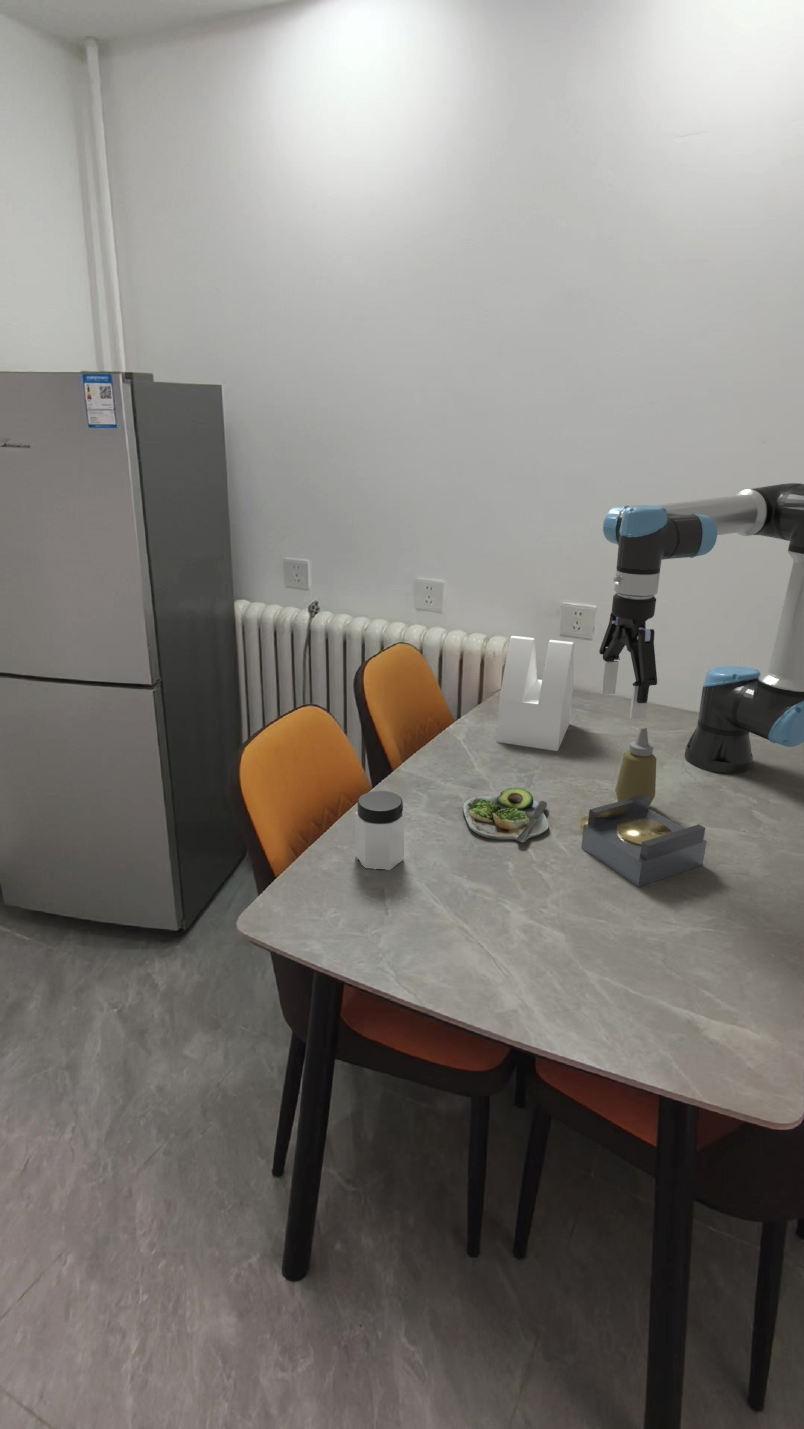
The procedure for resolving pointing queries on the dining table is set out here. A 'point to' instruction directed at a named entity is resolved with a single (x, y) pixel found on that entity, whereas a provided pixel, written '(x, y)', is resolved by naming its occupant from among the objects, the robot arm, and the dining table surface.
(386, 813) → the jar
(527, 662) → the white notched stand
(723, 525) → the robot arm
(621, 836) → the grey rimmed block
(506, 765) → the dining table surface
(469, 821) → the avocado toast plate
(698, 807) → the dining table surface
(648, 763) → the squeeze bottle
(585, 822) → the brass dome knob
